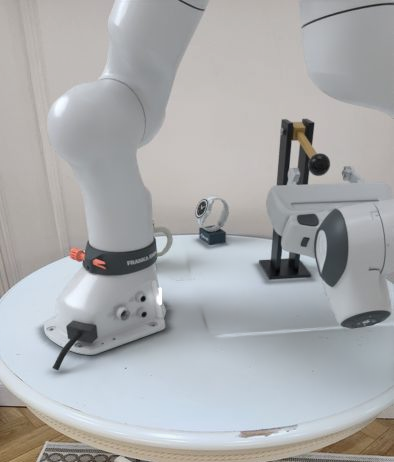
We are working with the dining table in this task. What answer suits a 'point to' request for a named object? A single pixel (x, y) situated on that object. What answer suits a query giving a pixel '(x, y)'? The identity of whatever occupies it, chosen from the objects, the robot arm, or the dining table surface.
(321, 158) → the lever
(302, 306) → the dining table surface
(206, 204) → the watch
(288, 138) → the stand
